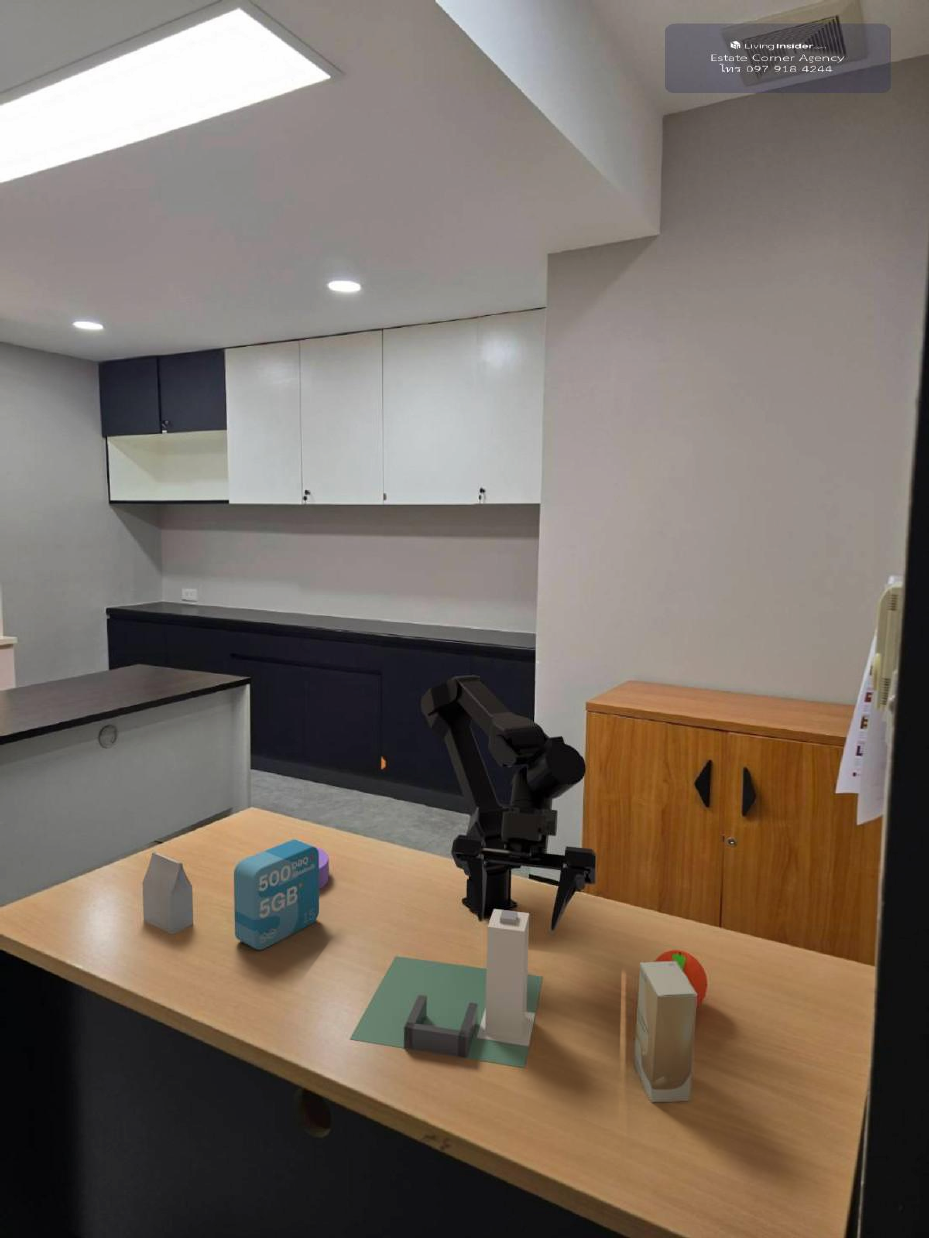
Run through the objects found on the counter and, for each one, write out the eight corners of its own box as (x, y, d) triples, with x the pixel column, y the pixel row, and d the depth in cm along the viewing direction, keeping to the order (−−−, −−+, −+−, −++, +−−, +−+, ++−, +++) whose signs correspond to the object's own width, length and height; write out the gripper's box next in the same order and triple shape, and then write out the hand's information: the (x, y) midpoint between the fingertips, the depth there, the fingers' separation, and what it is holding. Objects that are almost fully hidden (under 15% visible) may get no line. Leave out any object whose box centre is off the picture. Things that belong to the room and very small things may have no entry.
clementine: (706, 1034, 91) (709, 978, 90) (645, 1022, 93) (648, 967, 92) (705, 995, 98) (708, 943, 97) (650, 985, 100) (652, 934, 99)
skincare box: (632, 1062, 86) (637, 959, 84) (670, 1060, 86) (676, 958, 84) (651, 1105, 79) (657, 994, 78) (692, 1103, 80) (698, 993, 78)
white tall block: (491, 1011, 92) (494, 904, 91) (526, 1016, 92) (529, 908, 90) (485, 1033, 88) (487, 921, 87) (521, 1038, 87) (524, 926, 86)
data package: (254, 954, 106) (253, 871, 104) (234, 943, 108) (232, 862, 107) (319, 920, 115) (319, 843, 114) (299, 910, 118) (299, 836, 117)
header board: (395, 962, 104) (395, 938, 104) (542, 983, 100) (543, 958, 100) (349, 1046, 87) (349, 1018, 87) (524, 1076, 83) (525, 1045, 83)
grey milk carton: (171, 934, 110) (169, 868, 109) (143, 920, 114) (141, 856, 113) (193, 924, 114) (191, 859, 112) (165, 910, 117) (163, 848, 116)
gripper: (455, 776, 101) (432, 894, 92) (598, 789, 97) (590, 914, 88) (467, 812, 110) (447, 923, 101) (599, 825, 106) (591, 942, 97)
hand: (515, 925), depth 96 cm, fingers open, 9 cm apart
